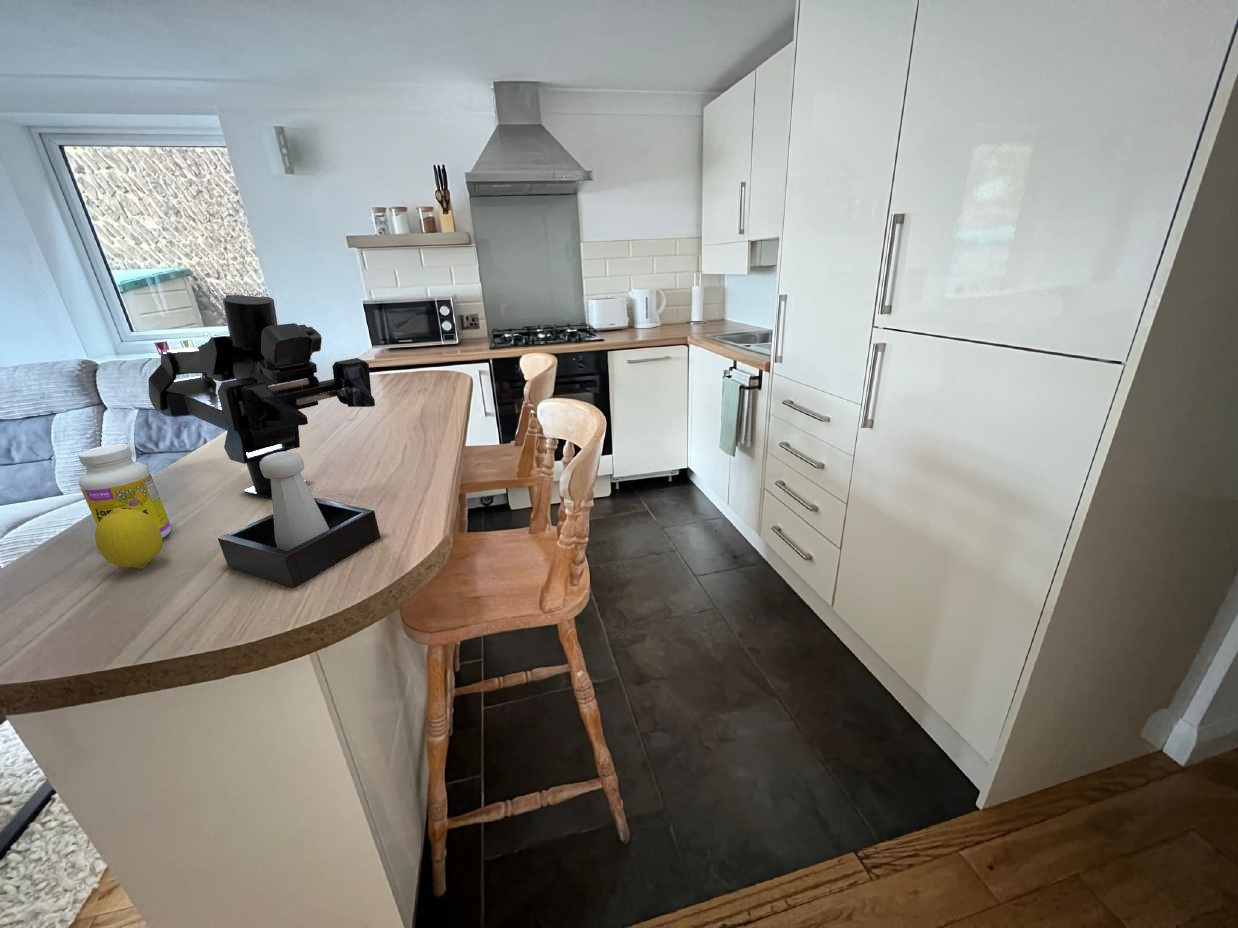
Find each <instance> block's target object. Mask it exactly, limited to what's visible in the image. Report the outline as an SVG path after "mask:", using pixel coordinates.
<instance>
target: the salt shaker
mask: <svg viewBox="0 0 1238 928" xmlns="http://www.w3.org/2000/svg"><path fill="white" fill-rule="evenodd" d="M260 469H261V472H262V474H263V476H264V477H265V478H269V479H271V490H272V498H271V500H272V514H273V515H274V532H275V542H276V545H277V547H276V548H278V549H281V550H285V551H288V550H290V549H292V548H294V547H296V546H298V545H300V544H302V543H304V542H306V541H308V540H310V539H312V538H314V537H316V536H318V535H320V534H322V533H324V532H326V531H328V530H329V527H328V525H327V523H326V521H325V519H324V518H323V516H322V514H321V512H320V510H319V508H318V506H317V504H316V502H315V500H314V498H315V497H314V496H313V495H312V492H311V490H310V488H309V486H308V483H306V482H307V481H306V482H305V480H306V479H305V478H304V476H303V475H302V473H301V472H302V471H304V470H305V462H304V459H303V458H302V455H301V454H300V453H298V452H296V451H292V450H287V451H283V452H277V453H274V454H271V455H268V456H266V457H264V458H263V459H262V460H261V461H260Z"/></svg>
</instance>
